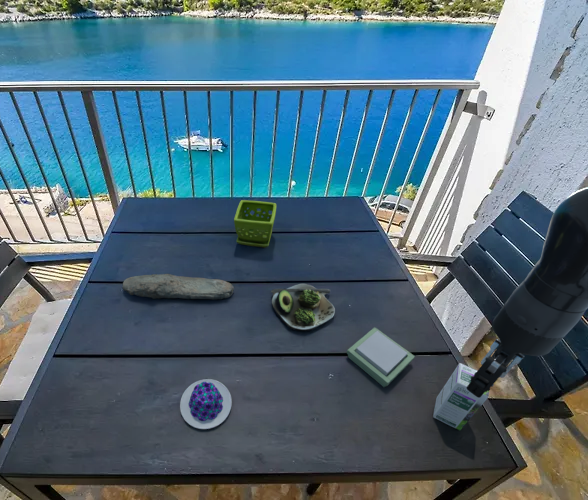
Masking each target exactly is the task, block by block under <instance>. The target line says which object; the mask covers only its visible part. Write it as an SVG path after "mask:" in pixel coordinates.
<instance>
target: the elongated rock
mask: <svg viewBox="0 0 588 500" xmlns="http://www.w3.org/2000/svg"><path fill="white" fill-rule="evenodd" d="M121 288H122V289H123V291H124V292H126V293H127V294H129V295H130V296H133V295H134V296H137V297H141V298H143V297H144V298H145V297H146V298H150V299H153V300H155V299H159V300H160V299H178V298H179V299H186V300H223V299H228V298H230V297H231V296H232V295H233V294H234V290H235V288H234V285H233V284H231V283H230V282H228V281H226V280H223V279H219V278H214V279H213V278H206V277H197V276H196V277H191V276H183V275H175V274H171V273H160V274H157V273H155V274H154V273H152V274H142V275H134V276H129V277H127V278H126V279H124V280H123V282H122V287H121Z"/></svg>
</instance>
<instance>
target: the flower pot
mask: <svg viewBox="0 0 588 500" xmlns="http://www.w3.org/2000/svg"><path fill="white" fill-rule="evenodd" d="M251 212H254V213H253V214H252V213H251ZM270 212H271V213H270ZM276 214H277V203H275V202H271V201H260V200H246V199H242V200H240V201H239V203H238V206H237V208H236V212H235V215H234V218H233V225H234V229H235V233H236V235H237V238H236V243H237V244H239V245H241V246H247V247H255V248H262V249H265V248H268V247H269V245H270V241H271V237H272V233H273V228H274V224H275V220H276Z"/></svg>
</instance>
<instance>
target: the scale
mask: <svg viewBox="0 0 588 500" xmlns="http://www.w3.org/2000/svg"><path fill="white" fill-rule="evenodd" d="M376 331H378V332H380V333H381V334H382V335H384V336H385V337H387V338H388V339H389V340H391V341H392V342H393V343H395V344H396V345H397V346H399V347H400V348H402V349H403V350H404V351H406V352H407V353H408V354H407V356H406V357H405V358H404V359H403V360H402V361H401V362H400V363H399V364H398V365H397V366H396V367H395V368H394V369H393V370H392V371H391V372H390V373H389V374H388V375H387V376H385V375H384V374H382V373H381V372H380V371H379V370H377V369H376V368H375V367H374V366H373V365H371V364H370V363H369V362H368V361H366V360H365V359H364V358H363V357H361V356H360V355H359V354H358V353H356V352H355V351H356V348H357V347H359V346H360V345H361V344H362V343H363V342H364V341H366V340H367V339H368V338H369V337H370V336H372V335H373V334H374V333H375V332H376ZM346 354H347V358H348V359H349V360H351V361H352V362H353V363H354V364H356V365H357V367H359V368H361V370H362V371H364V372H365V373H366V374H368V375H369V376H370V377H371V378H372V379H373V380H375V381H376V382H377V383H379V385H381V386H382V387H383V388H385V387H388V386H389V385H390V384H391V383H392V382H393V381H394V380H395V379H396V378H397V377H398V376H399V375H400V374H401V373H402V372H403V371H404V370H405V369H406V368H407V367H408V366H409V365H410V364H411V363H412V362H413V361H414V359H415V358H416V355H414V354H412V352H410V351H408V350H407V349H406V348H404V347H402V346H401V345H400V344H399V343H397V342H396V341H394V340H393V339H392V338H390V337H389V336H388V335H386V334H385V333H383V332H382V331H381V330H380V329H378V328H377V327H375V326H374V327H373V328H372V329H371V330H369V331H368V332H367V333H366V334H365V335H363V336H362V337H361V338H360V339H359V340H357V341H356V342H355V343H354V344H353V345H352V346H350V347H349V348H348V349H347V351H346Z"/></svg>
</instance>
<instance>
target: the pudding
mask: <svg viewBox="0 0 588 500" xmlns="http://www.w3.org/2000/svg"><path fill="white" fill-rule="evenodd" d="M232 401H233V400H232V395H231V392H230V390H229V389H228V387H227V386H225V385H224V384H223V383H222V382H220V381H218V380H216V379H211V378H205V379H204V378H203V379H200V380H197V381H194V382H193V383H191V384H190V385H189V386H187V388H186V389H185V390H184V392H183V393H182V396H181V398H180V402H179V411H180V414H181V416H182V418H183V420H184V421H185V422H186V423H187V424H188V425H190V426H191V427H193V428H196V429H199V430H207V429H208V430H209V429H213V428H216V427H218V426H219V425H220V424H222V423H223V422H225V420H226V419H227V418H228V416H229V414H230V413H231V409H232V404H233V402H232Z"/></svg>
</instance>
